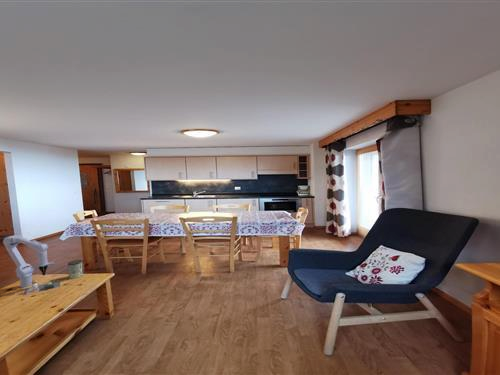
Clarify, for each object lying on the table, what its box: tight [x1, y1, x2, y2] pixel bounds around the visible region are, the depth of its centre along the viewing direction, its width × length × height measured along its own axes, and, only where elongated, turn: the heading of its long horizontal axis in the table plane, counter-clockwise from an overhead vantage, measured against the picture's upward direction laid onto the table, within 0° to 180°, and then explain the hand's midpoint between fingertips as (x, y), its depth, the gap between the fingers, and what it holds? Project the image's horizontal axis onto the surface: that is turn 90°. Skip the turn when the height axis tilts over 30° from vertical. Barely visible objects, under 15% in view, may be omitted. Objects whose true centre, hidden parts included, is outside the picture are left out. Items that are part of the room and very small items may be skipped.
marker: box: [31, 279, 39, 292], centre depth 190 cm, size 3×3×8 cm
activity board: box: [23, 280, 61, 296], centre depth 195 cm, size 15×22×1 cm
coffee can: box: [67, 259, 84, 280], centre depth 215 cm, size 10×10×14 cm
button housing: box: [44, 283, 55, 291], centre depth 194 cm, size 6×6×2 cm
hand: (44, 275), depth 199 cm, fingers closed
